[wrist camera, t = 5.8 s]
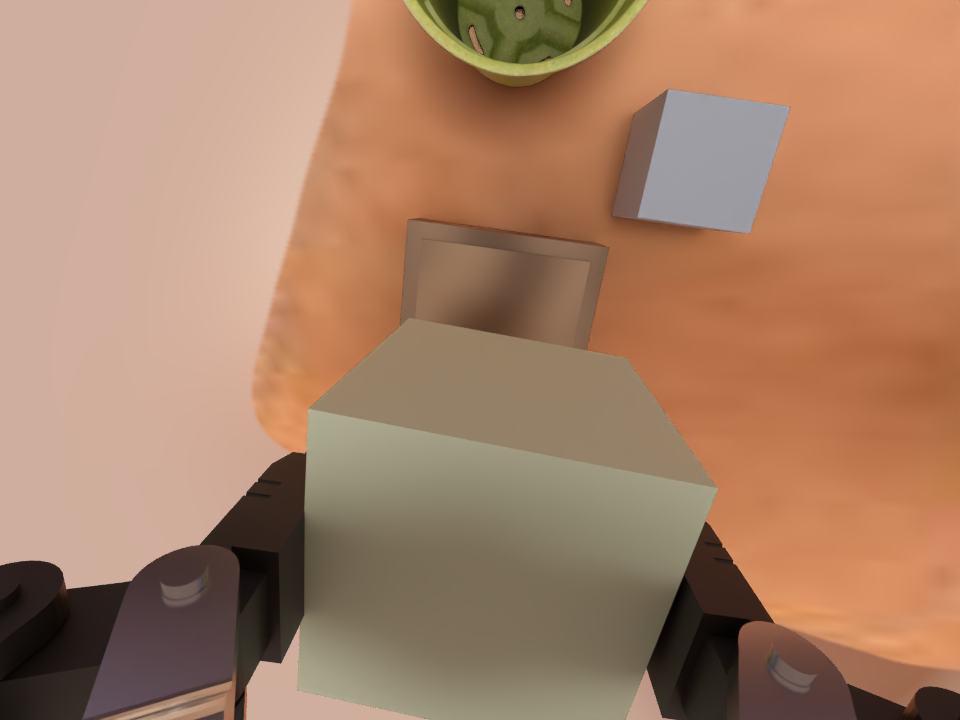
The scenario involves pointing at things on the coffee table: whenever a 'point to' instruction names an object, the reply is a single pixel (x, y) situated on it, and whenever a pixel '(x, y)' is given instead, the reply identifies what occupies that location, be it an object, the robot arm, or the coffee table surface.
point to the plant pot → (524, 33)
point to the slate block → (699, 161)
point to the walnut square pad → (502, 281)
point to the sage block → (491, 529)
